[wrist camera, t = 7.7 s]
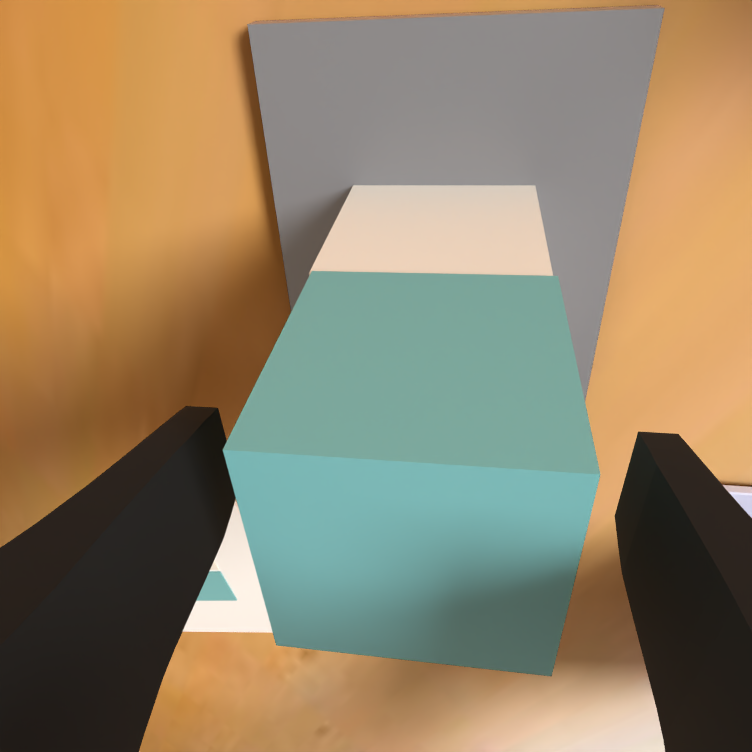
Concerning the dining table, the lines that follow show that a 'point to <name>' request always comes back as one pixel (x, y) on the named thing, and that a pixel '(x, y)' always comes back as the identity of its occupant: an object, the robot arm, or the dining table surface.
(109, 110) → the dining table surface
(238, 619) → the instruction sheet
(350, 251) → the cream brick
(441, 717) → the dining table surface
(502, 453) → the teal brick
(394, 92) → the plate
